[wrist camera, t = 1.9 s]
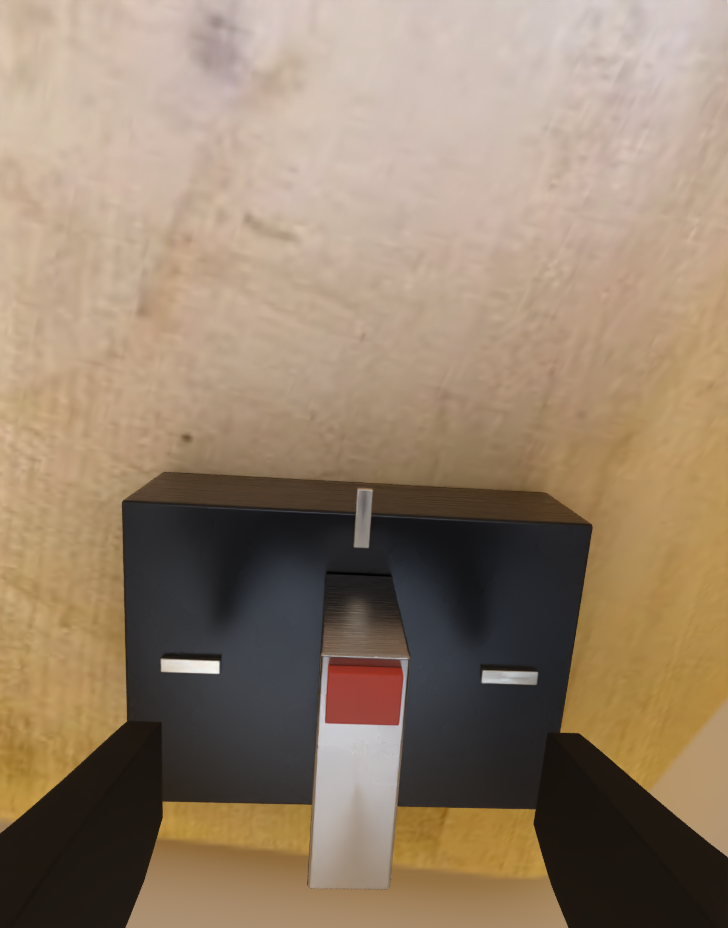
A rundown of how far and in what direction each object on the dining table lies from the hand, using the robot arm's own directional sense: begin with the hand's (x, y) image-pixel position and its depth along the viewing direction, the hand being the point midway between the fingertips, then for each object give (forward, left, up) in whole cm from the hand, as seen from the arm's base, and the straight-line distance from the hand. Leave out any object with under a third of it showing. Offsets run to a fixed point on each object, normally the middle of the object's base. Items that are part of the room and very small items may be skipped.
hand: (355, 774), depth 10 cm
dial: (0, 0, -3) cm, 3 cm away
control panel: (0, 0, -6) cm, 6 cm away
